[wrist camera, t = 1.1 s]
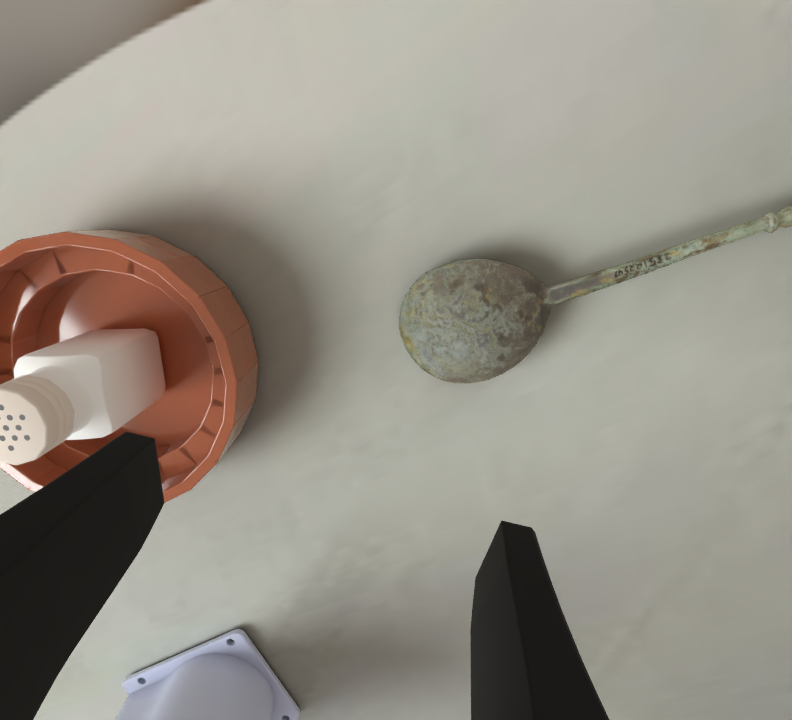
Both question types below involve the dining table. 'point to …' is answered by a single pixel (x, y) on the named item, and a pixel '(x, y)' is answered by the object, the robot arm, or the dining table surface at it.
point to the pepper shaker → (78, 390)
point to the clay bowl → (133, 309)
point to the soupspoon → (515, 305)
